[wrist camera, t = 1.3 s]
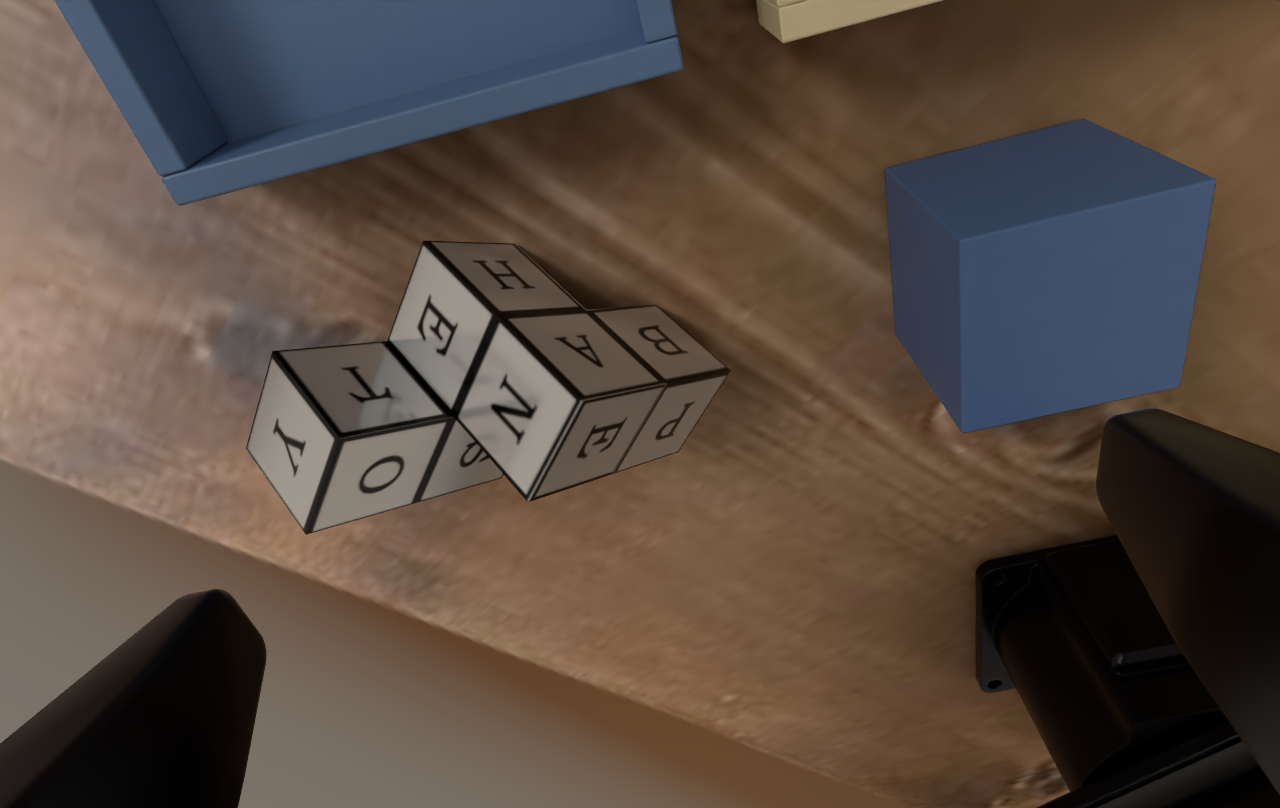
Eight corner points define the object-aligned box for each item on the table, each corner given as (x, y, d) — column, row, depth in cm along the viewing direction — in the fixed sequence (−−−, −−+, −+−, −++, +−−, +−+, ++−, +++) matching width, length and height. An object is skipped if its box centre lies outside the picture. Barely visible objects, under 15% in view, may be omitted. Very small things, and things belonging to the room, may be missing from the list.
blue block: (1071, 294, 20) (1181, 387, 16) (894, 334, 20) (961, 434, 16) (1084, 117, 17) (1218, 178, 14) (883, 167, 18) (959, 240, 14)
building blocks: (589, 246, 20) (303, 237, 14) (731, 370, 18) (469, 425, 12) (515, 398, 23) (245, 448, 17) (632, 523, 21) (374, 633, 15)
